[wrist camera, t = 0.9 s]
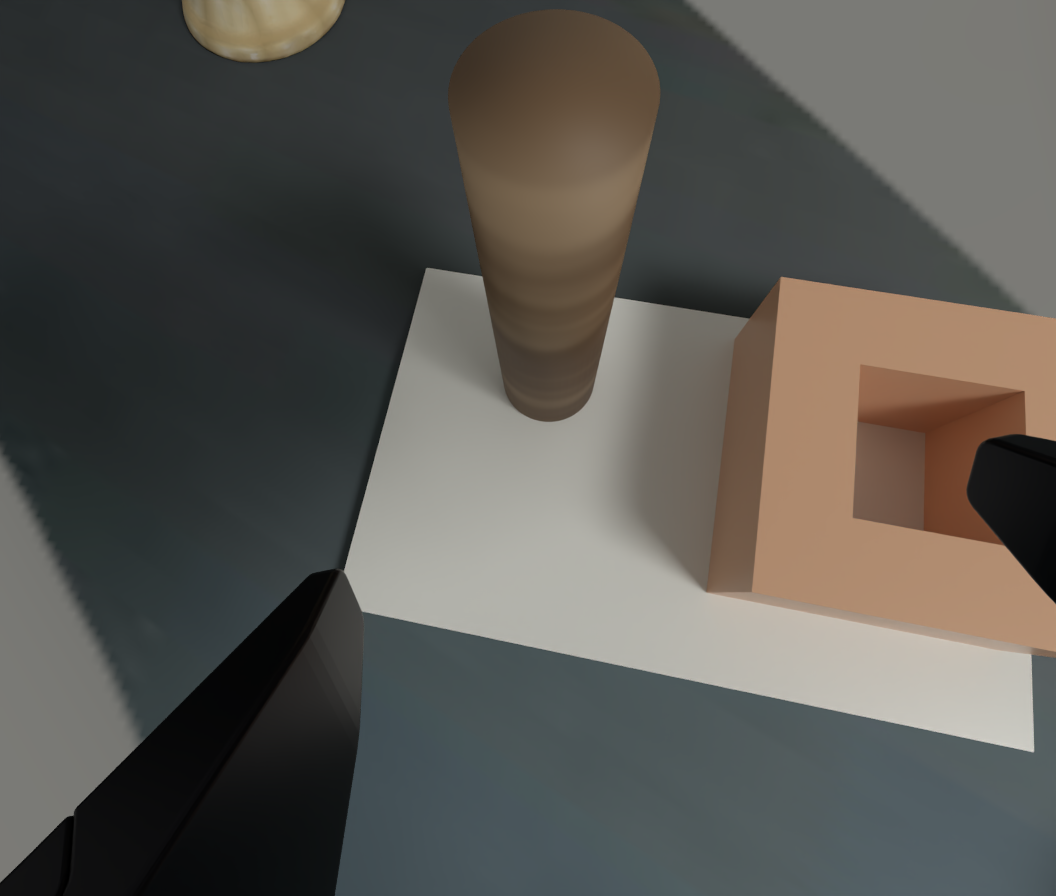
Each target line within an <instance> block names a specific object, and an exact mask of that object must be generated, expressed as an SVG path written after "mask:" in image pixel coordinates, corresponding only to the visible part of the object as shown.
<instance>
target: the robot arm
mask: <svg viewBox="0 0 1056 896" xmlns="http://www.w3.org/2000/svg"><path fill="white" fill-rule="evenodd" d="M966 494H967V498H968V500H969V502H970V504H971V506H972V507H973V508H974V510H975V511H976V512H977V513H978V514H979V516H980V517H981V518H982V519H983V520H984V522H985V523H986V524H987V525H988V526H989V528H990V529H991V530H992V531H993V532H994V533H995V535H996V536H997V537H998V538H999V539H1000V541H1001V542H1002V543H1003V544H1004V545H1005V547H1006V548H1007V549H1008V550H1009V551H1010V553H1011V554H1012V555H1013V556H1014V557H1015V559H1016V560H1017V561H1018V562H1019V563H1020V564H1021V566H1022V567H1023V568H1024V569H1025V570H1026V572H1027V573H1028V574H1029V575H1030V576H1031V578H1032V579H1033V580H1034V581H1035V582H1036V583H1037V584H1038V586H1039V587H1040V588H1041V589H1042V590H1043V591H1044V592H1045V594H1046V595H1047V596H1048V597H1049V598H1050V599H1051V600H1052V601H1053V602H1054V603H1055V604H1056V441H1054V440H1049V439H1043V438H1038V437H1033V436H1028V435H1023V434H1009V435H1004V436H999V437H994V438H989V439H986V440H984V441H983V442H982V443H981V444H980V445H979V446H978V448H977V450H976V454H975V457H974V461H973V465H972V469H971V472H970V476H969V480H968V483H967V488H966ZM363 642H364V619H363V614H362V611H361V608H360V606H359V603H358V601H357V599H356V597H355V594H354V592H353V590H352V587H351V585H350V583H349V580H348V578H347V576H346V574H345V573H344V572H343V571H342V570H340V569H331V570H326V571H321V572H316V573H313V574H311V575H309V576H308V577H307V578H306V579H305V580H304V581H303V582H302V583H301V584H300V585H299V586H298V587H297V588H296V589H295V590H294V591H293V592H292V593H291V594H290V595H289V596H288V597H287V598H286V599H285V600H284V601H283V602H282V603H281V604H280V605H279V606H278V607H277V608H276V609H275V610H274V611H273V612H272V613H271V614H270V615H269V616H268V617H267V618H266V619H265V620H264V621H263V622H262V623H261V624H260V625H259V626H258V627H257V628H256V629H255V630H254V631H253V632H252V633H251V634H250V635H249V636H248V637H247V638H246V639H245V640H244V641H243V642H242V643H241V644H240V645H239V646H238V647H237V648H236V649H235V650H234V651H233V652H232V653H231V654H230V655H229V656H228V657H227V658H226V659H225V660H224V661H223V662H222V663H221V664H220V665H219V666H218V667H217V668H216V669H215V670H214V671H213V672H212V673H211V674H210V675H209V676H208V677H207V678H206V679H205V680H204V681H203V682H202V683H201V684H200V685H199V686H198V687H197V688H196V689H195V690H194V691H193V692H192V693H191V694H190V695H189V696H188V697H187V698H186V699H185V700H184V701H183V702H182V703H181V704H180V705H179V706H178V707H177V708H176V709H175V710H174V711H173V712H172V713H171V714H170V715H169V716H168V717H167V718H166V719H165V720H164V721H163V722H162V723H161V724H160V725H159V726H158V727H157V728H156V729H155V730H154V731H153V732H152V733H151V734H150V735H149V736H148V737H147V738H146V739H145V740H144V741H143V742H142V743H141V744H140V745H139V746H138V747H137V748H136V749H135V750H134V751H133V752H132V753H131V754H130V755H129V756H128V757H127V758H126V759H125V760H124V761H123V762H122V763H121V764H120V765H119V766H118V767H117V768H116V769H115V770H114V771H113V772H112V773H111V774H110V775H109V776H108V777H107V778H106V779H105V780H104V781H103V782H102V783H101V784H100V785H98V787H97V788H96V789H95V790H94V791H93V792H92V793H90V794H89V795H88V797H86V799H85V800H84V801H82V802H81V804H80V805H79V806H77V808H76V809H75V811H74V816H69V817H67V818H66V819H64V820H63V821H62V822H61V823H60V824H59V825H58V826H57V827H56V828H55V829H54V830H53V831H52V832H51V833H50V834H49V835H48V836H47V837H46V838H45V839H44V840H43V841H42V842H41V843H40V844H39V845H38V847H36V848H35V849H34V850H33V851H32V852H31V853H30V854H29V855H28V856H27V857H26V858H25V859H24V860H23V861H22V862H21V863H20V864H19V865H18V866H17V867H16V868H15V869H14V870H13V871H12V872H11V873H10V874H9V875H8V876H7V877H6V878H5V879H4V880H3V881H2V882H1V883H0V896H335V890H336V884H337V877H338V871H339V865H340V858H341V852H342V845H343V839H344V832H345V826H346V819H347V813H348V806H349V800H350V793H351V787H352V780H353V774H354V768H355V761H356V755H357V747H358V739H359V730H360V714H361V690H362V666H363Z"/></svg>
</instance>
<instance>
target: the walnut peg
mask: <svg viewBox="0 0 1056 896" xmlns="http://www.w3.org/2000/svg"><path fill="white" fill-rule="evenodd" d="M448 102H449V110H450V115H451V120H452V125H453V130H454V135H455V140H456V145H457V151H458V156H459V161H460V166H461V171H462V176H463V181H464V186H465V191H466V196H467V201H468V206H469V211H470V216H471V222H472V227H473V232H474V237H475V242H476V247H477V252H478V257H479V262H480V267H481V272H482V277H483V282H484V287H485V292H486V298H487V303H488V308H489V313H490V318H491V323H492V328H493V333H494V338H495V343H496V348H497V353H498V358H499V363H500V368H501V374H502V379H503V384H504V388H505V392H506V395H507V397H508V399H509V401H510V402H511V404H512V405H513V406H514V407H515V408H516V409H517V410H518V411H519V412H520V413H522V414H523V415H525V416H527V417H529V418H531V419H534V420H537V421H543V422H555V421H560V420H564V419H567V418H569V417H571V416H573V415H574V414H576V413H577V412H579V411H580V410H581V409H582V408H583V407H584V406H585V404H586V403H587V402H588V400H589V398H590V396H591V394H592V391H593V387H594V383H595V379H596V374H597V370H598V366H599V361H600V357H601V353H602V349H603V344H604V340H605V336H606V331H607V327H608V323H609V318H610V314H611V310H612V306H613V301H614V297H615V293H616V288H617V284H618V280H619V275H620V271H621V267H622V262H623V258H624V254H625V250H626V245H627V241H628V237H629V232H630V228H631V224H632V219H633V215H634V211H635V207H636V202H637V198H638V194H639V189H640V185H641V181H642V176H643V172H644V168H645V164H646V159H647V155H648V151H649V146H650V142H651V138H652V133H653V129H654V125H655V121H656V116H657V112H658V108H659V102H660V83H659V78H658V74H657V70H656V68H655V66H654V63H653V61H652V59H651V58H650V56H649V54H648V53H647V51H646V50H645V49H644V47H643V46H642V45H641V44H640V43H639V41H637V40H636V39H635V38H634V37H633V36H632V35H631V34H630V33H628V32H627V31H625V30H624V29H623V28H621V27H620V26H618V25H616V24H614V23H612V22H610V21H608V20H606V19H603V18H601V17H598V16H595V15H592V14H588V13H585V12H579V11H573V10H560V9H556V10H541V11H533V12H529V13H524V14H520V15H517V16H514V17H511V18H509V19H506V20H504V21H502V22H500V23H498V24H496V25H494V26H492V27H491V28H489V29H488V30H486V31H485V32H483V33H482V34H481V35H480V36H478V37H477V38H476V39H475V40H474V41H473V42H472V43H471V44H470V45H469V46H468V47H467V48H466V49H465V51H464V52H463V53H462V55H461V56H460V58H459V60H458V61H457V63H456V65H455V67H454V70H453V72H452V75H451V79H450V83H449V90H448Z"/></svg>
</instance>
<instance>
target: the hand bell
mask: <svg viewBox="0 0 1056 896" xmlns="http://www.w3.org/2000/svg"><path fill="white" fill-rule="evenodd" d="M344 2H345V0H182V5H183V13H184V18H185V21H186V24H187V26H188V29H189V31H190V32H191V34H192V35H193V37H194V38H195V39H196V40H197V41H198V42H199V43H200V44H201V45H202V46H203V47H205V48H206V49H208V50H209V51H211V52H213V53H215V54H216V55H219V56H221V57H224V58H227V59H230V60H233V61H238V62H255V63H256V62H266V61H272V60H277V59H281V58H285V57H288V56H291V55H294V54H296V53H298V52H301V51H303V50H304V49H306V48H308V47H309V46H311V45H312V44H314V43H315V42H317V41H318V40H319V39H320V38H321V37H322V36H324V35H325V34H326V33H327V32H328V31H329V30H330V28H331V27H332V26H333V25H334V23H335V22H336V21H337V18H338V17H339V15H340V13H341V11H342V8H343V5H344Z"/></svg>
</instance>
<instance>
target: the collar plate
mask: <svg viewBox="0 0 1056 896" xmlns="http://www.w3.org/2000/svg"><path fill="white" fill-rule="evenodd" d="M1009 434H1023V435H1028V436H1033V437H1038V438H1043V439H1049V440H1054V441H1056V319H1055V318H1049V317H1042V316H1035V315H1029V314H1022V313H1016V312H1009V311H1002V310H996V309H989V308H983V307H976V306H969V305H963V304H956V303H950V302H943V301H936V300H930V299H923V298H917V297H910V296H903V295H897V294H890V293H884V292H877V291H870V290H864V289H857V288H851V287H844V286H837V285H831V284H824V283H818V282H811V281H804V280H798V279H791V278H785V277H780V279H779V280H778V281H777V283H776V284H775V285H774V287H773V288H772V289H771V291H770V292H769V294H768V295H767V296H766V298H765V299H764V300H763V302H762V303H761V304H760V306H759V307H758V308H757V310H756V311H755V312H754V314H753V315H752V316H751V318H750V319H748V318H741V317H735V316H729V315H723V314H716V313H710V312H704V311H697V310H691V309H685V308H678V307H672V306H666V305H659V304H653V303H647V302H640V301H634V300H628V299H621V298H615V297H614V301H613V306H612V310H611V314H610V318H609V323H608V327H607V331H606V336H605V340H604V344H603V349H602V353H601V357H600V361H599V366H598V370H597V374H596V379H595V383H594V387H593V391H592V394H591V396H590V398H589V400H588V402H587V403H586V404H585V406H584V407H583V408H582V409H581V410H580V411H579V412H577V413H576V414H574V415H573V416H571V417H569V418H567V419H564V420H560V421H555V422H543V421H537V420H534V419H531V418H529V417H527V416H525V415H523V414H522V413H520V412H519V411H518V410H517V409H516V408H515V407H514V406H513V405H512V404H511V402H510V401H509V399H508V397H507V395H506V392H505V388H504V384H503V379H502V374H501V368H500V363H499V358H498V353H497V348H496V343H495V338H494V333H493V328H492V323H491V318H490V313H489V308H488V303H487V298H486V292H485V287H484V282H483V277H482V276H476V275H469V274H463V273H457V272H451V271H444V270H438V269H432V268H426V271H425V275H424V278H423V282H422V286H421V290H420V293H419V297H418V301H417V304H416V308H415V312H414V315H413V319H412V323H411V326H410V330H409V334H408V337H407V341H406V345H405V348H404V352H403V356H402V359H401V363H400V367H399V370H398V374H397V378H396V381H395V385H394V389H393V393H392V396H391V400H390V404H389V407H388V411H387V415H386V418H385V422H384V426H383V429H382V433H381V437H380V440H379V444H378V448H377V451H376V455H375V459H374V462H373V466H372V470H371V473H370V477H369V481H368V485H367V488H366V492H365V496H364V499H363V503H362V507H361V510H360V514H359V518H358V521H357V525H356V529H355V532H354V536H353V540H352V543H351V547H350V551H349V554H348V558H347V562H346V565H345V569H344V573H345V574H346V576H347V578H348V580H349V583H350V585H351V587H352V590H353V592H354V594H355V597H356V599H357V601H358V603H359V606H360V608H361V611H363V612H368V613H373V614H377V615H382V616H387V617H392V618H396V619H401V620H406V621H411V622H416V623H420V624H425V625H430V626H435V627H439V628H444V629H449V630H454V631H458V632H463V633H468V634H473V635H477V636H482V637H487V638H492V639H497V640H501V641H506V642H511V643H516V644H520V645H525V646H530V647H535V648H539V649H544V650H549V651H554V652H558V653H563V654H568V655H573V656H578V657H582V658H587V659H592V660H597V661H601V662H606V663H611V664H616V665H620V666H625V667H630V668H635V669H639V670H644V671H649V672H654V673H659V674H663V675H668V676H673V677H678V678H682V679H687V680H692V681H697V682H701V683H706V684H711V685H716V686H720V687H725V688H730V689H735V690H740V691H744V692H749V693H754V694H759V695H763V696H768V697H773V698H778V699H782V700H787V701H792V702H797V703H801V704H806V705H811V706H816V707H821V708H825V709H830V710H835V711H840V712H844V713H849V714H854V715H859V716H863V717H868V718H873V719H878V720H882V721H887V722H892V723H897V724H902V725H906V726H911V727H916V728H921V729H925V730H930V731H935V732H940V733H944V734H949V735H954V736H959V737H963V738H968V739H973V740H978V741H983V742H987V743H992V744H997V745H1002V746H1006V747H1011V748H1016V749H1021V750H1025V751H1030V752H1034V733H1033V699H1032V664H1031V655H1039V656H1047V657H1055V658H1056V604H1055V603H1054V602H1053V601H1052V600H1051V599H1050V598H1049V597H1048V596H1047V595H1046V594H1045V592H1044V591H1043V590H1042V589H1041V588H1040V587H1039V586H1038V584H1037V583H1036V582H1035V581H1034V580H1033V579H1032V578H1031V576H1030V575H1029V574H1028V573H1027V572H1026V570H1025V569H1024V568H1023V567H1022V566H1021V564H1020V563H1019V562H1018V561H1017V560H1016V559H1015V557H1014V556H1013V555H1012V554H1011V553H1010V551H1009V550H1008V549H1007V548H1006V547H1005V545H1004V544H1003V543H1002V542H1001V541H1000V539H999V538H998V537H997V536H996V535H995V533H994V532H993V531H992V530H991V529H990V528H989V526H988V525H987V524H986V523H985V522H984V520H983V519H982V518H981V517H980V516H979V514H978V513H977V512H976V511H975V510H974V508H973V507H972V506H971V504H970V502H969V500H968V498H967V494H966V488H967V483H968V480H969V476H970V472H971V469H972V465H973V461H974V457H975V454H976V450H977V448H978V446H979V445H980V444H981V443H982V442H983V441H984V440H986V439H989V438H994V437H999V436H1004V435H1009Z"/></svg>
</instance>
